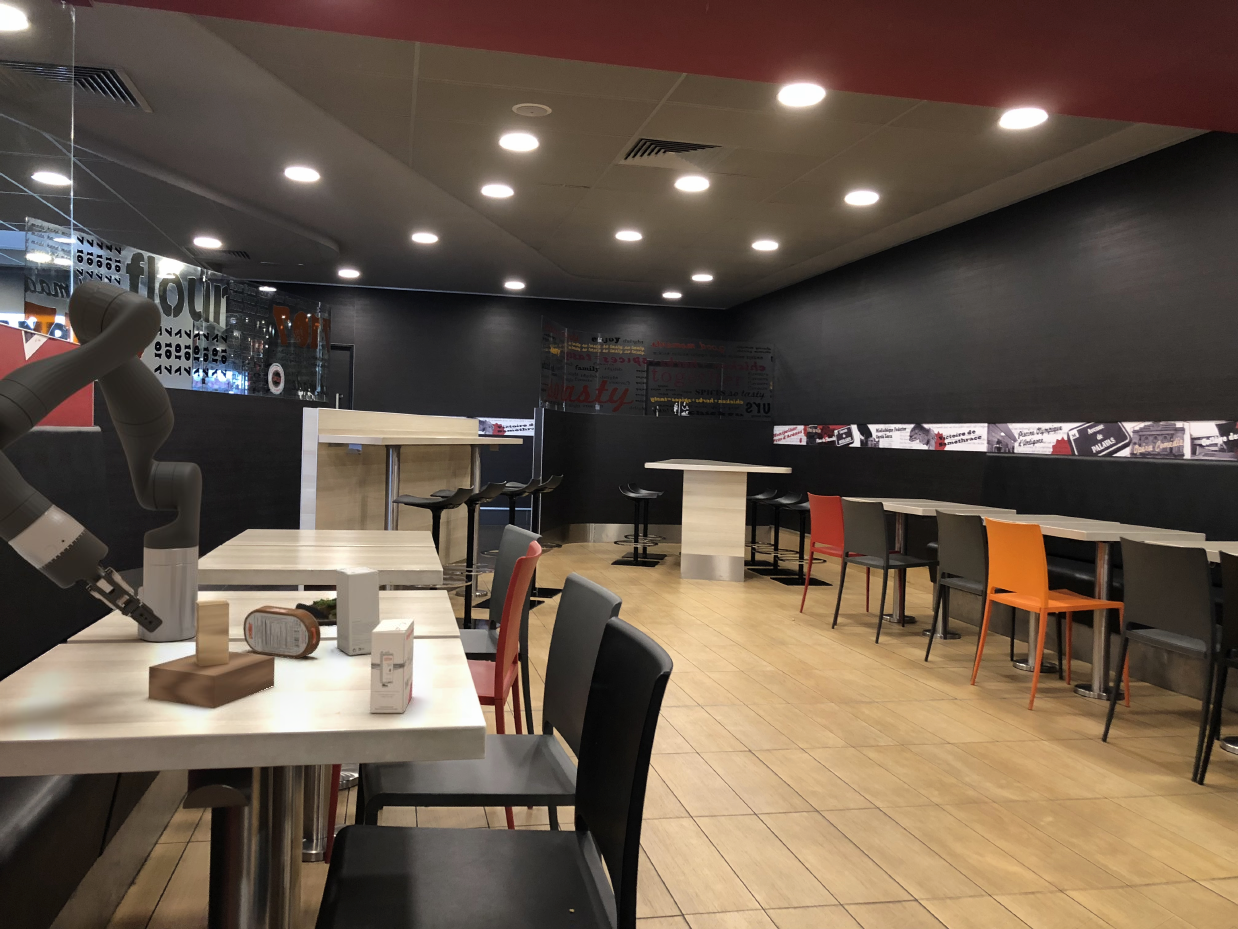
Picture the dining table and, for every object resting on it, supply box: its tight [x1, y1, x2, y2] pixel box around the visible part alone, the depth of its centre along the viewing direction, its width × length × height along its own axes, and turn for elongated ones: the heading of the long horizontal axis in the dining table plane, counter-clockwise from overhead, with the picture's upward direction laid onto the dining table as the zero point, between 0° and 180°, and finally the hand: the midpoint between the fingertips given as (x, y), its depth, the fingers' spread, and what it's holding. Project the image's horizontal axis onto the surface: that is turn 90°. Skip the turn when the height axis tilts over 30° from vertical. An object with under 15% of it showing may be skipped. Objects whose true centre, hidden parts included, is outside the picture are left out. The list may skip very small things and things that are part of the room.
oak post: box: [195, 598, 230, 667], centre depth 127 cm, size 4×4×9 cm
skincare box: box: [335, 566, 380, 656], centre depth 155 cm, size 8×6×15 cm
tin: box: [242, 605, 322, 659], centre depth 150 cm, size 15×3×8 cm, turn 71°
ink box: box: [369, 618, 415, 714], centre depth 124 cm, size 9×5×12 cm, turn 5°
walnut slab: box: [148, 651, 276, 709], centre depth 127 cm, size 12×12×5 cm
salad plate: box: [293, 597, 337, 627], centre depth 184 cm, size 19×18×5 cm
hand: (153, 622), depth 122 cm, fingers open, 8 cm apart
